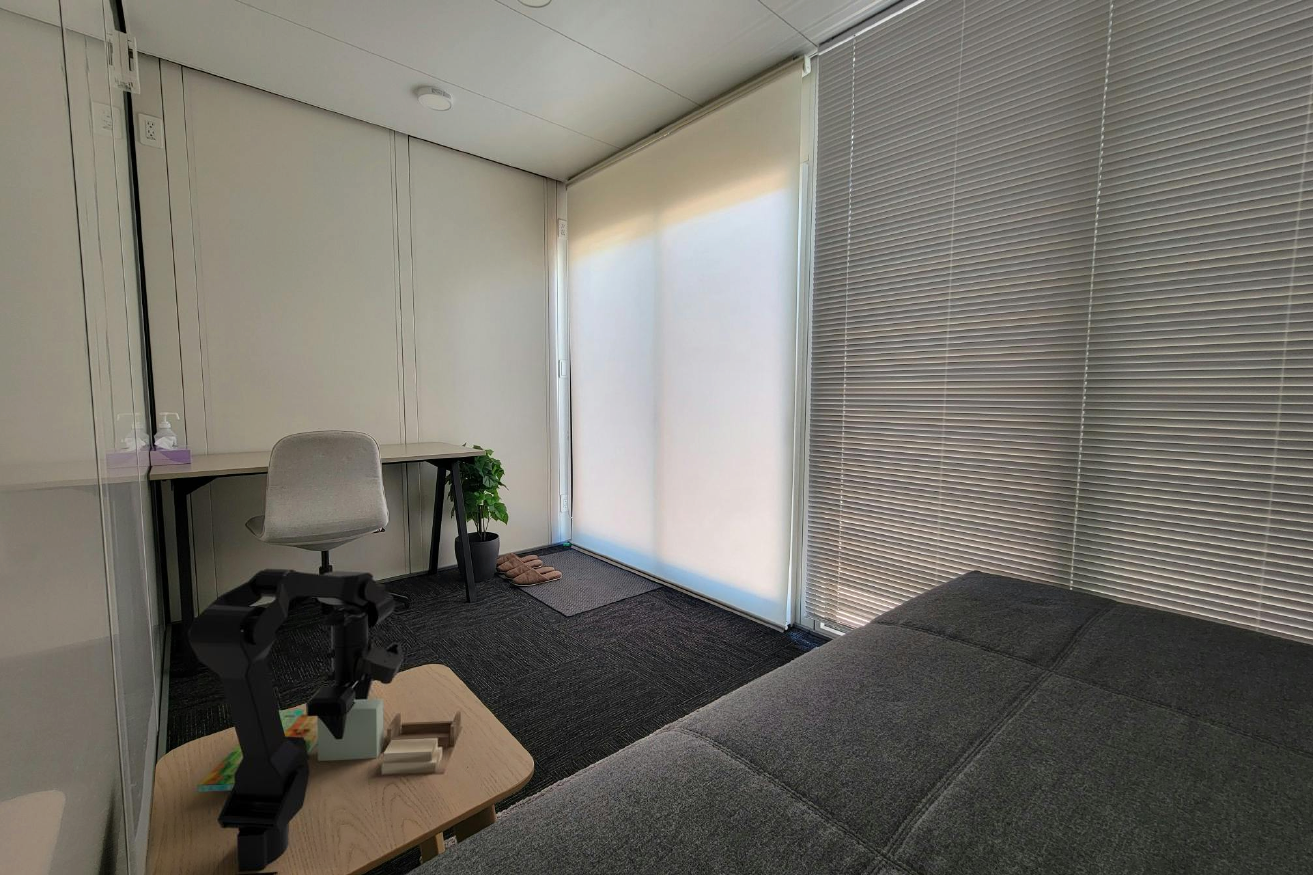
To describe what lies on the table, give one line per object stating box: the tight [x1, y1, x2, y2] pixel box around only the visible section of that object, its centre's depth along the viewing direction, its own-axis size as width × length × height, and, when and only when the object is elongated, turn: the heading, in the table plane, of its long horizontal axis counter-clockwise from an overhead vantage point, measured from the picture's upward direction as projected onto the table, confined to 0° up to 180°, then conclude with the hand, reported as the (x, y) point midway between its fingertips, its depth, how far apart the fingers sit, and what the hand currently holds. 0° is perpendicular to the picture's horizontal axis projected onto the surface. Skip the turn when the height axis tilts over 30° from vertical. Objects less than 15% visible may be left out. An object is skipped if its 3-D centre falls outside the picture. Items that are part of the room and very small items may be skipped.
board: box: [317, 698, 384, 762], centre depth 96 cm, size 3×10×10 cm, turn 97°
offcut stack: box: [382, 738, 442, 775], centre depth 94 cm, size 4×9×4 cm, turn 97°
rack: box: [371, 710, 463, 778], centre depth 98 cm, size 13×12×5 cm
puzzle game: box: [197, 709, 318, 793], centre depth 95 cm, size 12×5×20 cm
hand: (351, 722), depth 96 cm, fingers open, 9 cm apart
